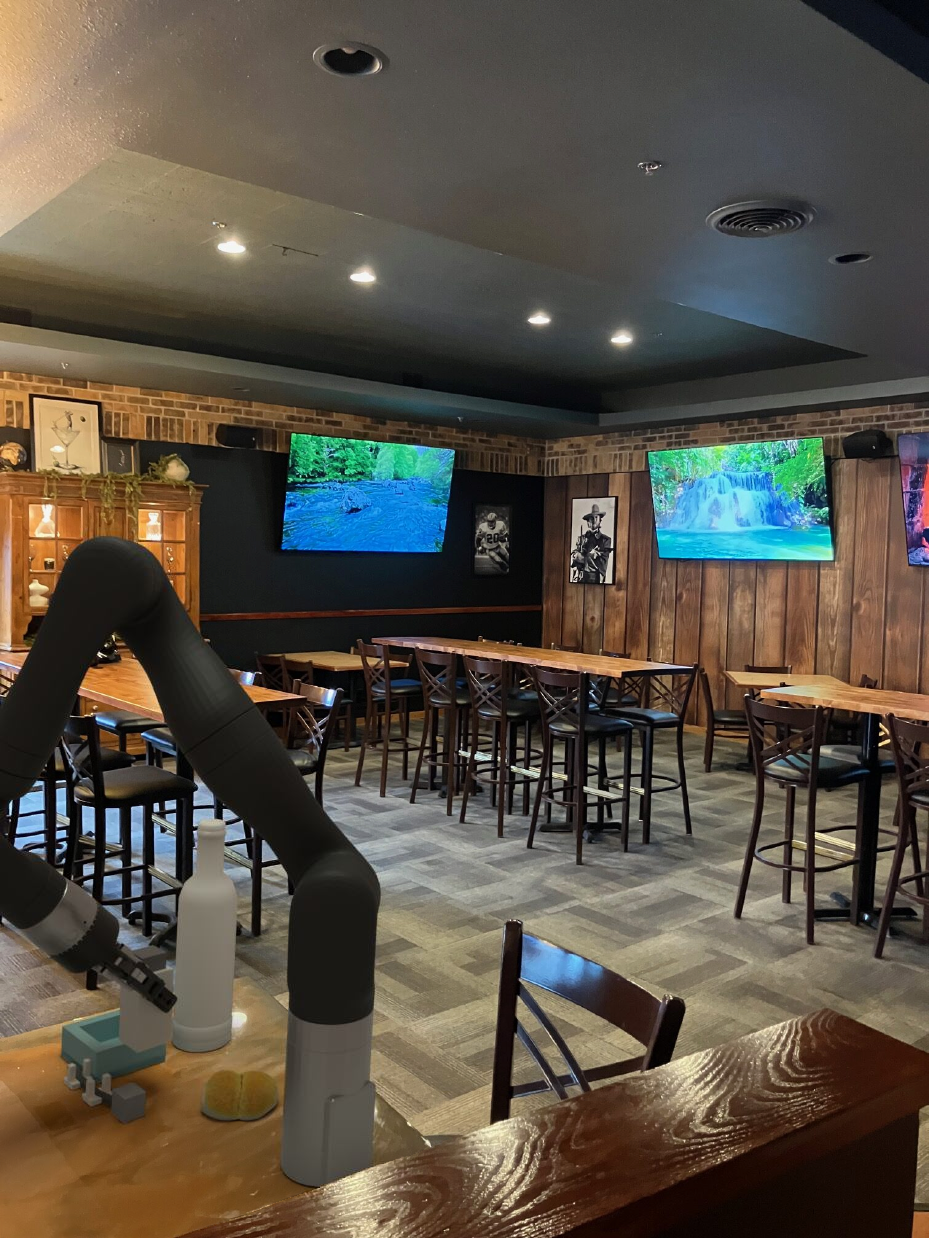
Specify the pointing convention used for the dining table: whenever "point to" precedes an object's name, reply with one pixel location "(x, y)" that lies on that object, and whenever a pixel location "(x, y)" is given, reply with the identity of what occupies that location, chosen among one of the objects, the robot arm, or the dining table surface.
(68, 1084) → the cable run
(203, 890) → the bottle
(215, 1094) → the bread roll
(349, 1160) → the robot arm
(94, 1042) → the end socket
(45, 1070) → the dining table surface
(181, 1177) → the dining table surface
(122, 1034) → the block
